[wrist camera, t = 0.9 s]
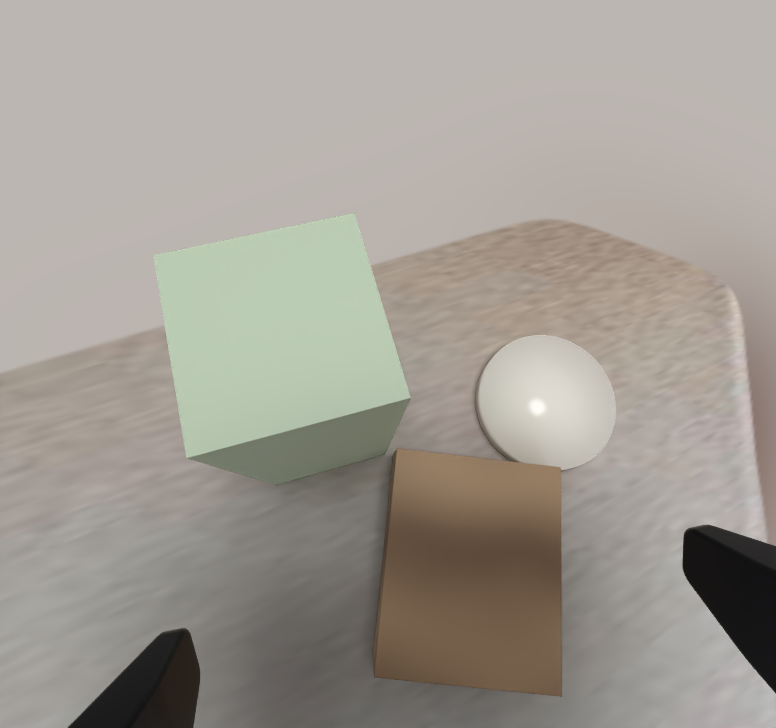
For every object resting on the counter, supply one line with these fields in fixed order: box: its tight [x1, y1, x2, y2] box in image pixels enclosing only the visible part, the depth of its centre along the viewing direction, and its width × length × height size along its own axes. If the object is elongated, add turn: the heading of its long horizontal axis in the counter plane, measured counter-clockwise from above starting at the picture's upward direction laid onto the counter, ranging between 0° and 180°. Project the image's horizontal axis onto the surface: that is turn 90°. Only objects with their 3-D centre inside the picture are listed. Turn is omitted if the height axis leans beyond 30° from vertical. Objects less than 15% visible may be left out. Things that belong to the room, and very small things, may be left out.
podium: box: [373, 448, 562, 697], centre depth 21 cm, size 9×8×2 cm
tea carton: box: [153, 213, 411, 485], centre depth 18 cm, size 6×6×12 cm
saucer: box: [476, 335, 616, 470], centre depth 24 cm, size 7×7×1 cm
